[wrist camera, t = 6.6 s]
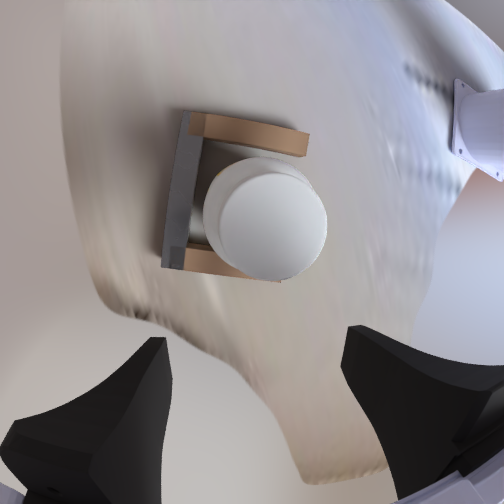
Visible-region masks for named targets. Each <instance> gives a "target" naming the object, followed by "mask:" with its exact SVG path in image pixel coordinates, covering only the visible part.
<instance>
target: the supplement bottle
mask: <svg viewBox="0 0 504 504" xmlns="http://www.w3.org/2000/svg"><path fill="white" fill-rule="evenodd" d="M203 225H204V230H205V234H206V237H207V239H208V241H209V243H210V245H211V247H212V248H213V250H214V251H215V252H216V253H217V255H218V256H219V257H220V258H221V259H222V260H224V261H225V262H226V263H228V264H229V265H231V266H232V267H234V268H236V269H239V270H240V271H241V272H243V273H244V274H246V275H248V276H250V277H253V278H255V279H259V280H264V281H280V280H285V279H288V278H291V277H293V276H296V275H298V274H300V273H301V272H303V271H304V270H305V269H307V268H308V267H309V266H310V265H311V264H312V263H313V262H314V261H315V259H316V258H317V257H318V255H319V253H320V252H321V250H322V247H323V245H324V242H325V239H326V234H327V216H326V212H325V209H324V206H323V203H322V201H321V200H320V198H319V196H318V195H317V193H316V192H315V191H314V189H313V187H312V186H311V184H310V182H309V181H308V180H307V178H306V177H305V176H304V175H303V174H302V173H301V172H300V171H299V170H298V169H296V168H295V167H293V166H292V165H290V164H288V163H286V162H284V161H282V160H278V159H275V158H269V157H253V158H248V159H244V160H241V161H238V162H236V163H234V164H231V165H229V166H227V167H226V168H224V169H223V170H222V171H220V172H219V173H218V174H217V175H216V177H215V178H214V179H213V181H212V183H211V185H210V187H209V189H208V192H207V195H206V198H205V202H204V207H203Z"/></svg>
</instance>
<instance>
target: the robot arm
mask: <svg viewBox="0 0 504 504" xmlns="http://www.w3.org/2000/svg"><path fill="white" fill-rule="evenodd" d="M459 151H460V153H459ZM452 152H453V154H454V155H456V156H458V157H460V158H462V159H464V160H465V161H467V162H469V163H471V164H472V165H474V166H476V167H477V168H479V169H481V170H482V171H484V172H486V173H487V174H489V175H490V176H492V177H494V178H495V179H497V180H498V181H503V179H504V89H499V90H492V91H486V92H480V93H478V92H476V91H475V90H474V89H473V88H471V87H470V86H469V85H467V84H466V83H464V82H463V81H462V80H460V79H455V81H454V124H453V138H452ZM341 369H342V371H343V374H344V377H345V379H346V381H347V384H348V386H349V387H350V389H351V391H352V393H353V394H354V396H355V398H356V399H357V401H358V402H359V404H360V406H361V407H362V409H363V411H364V412H365V414H366V415H367V417H368V419H369V420H370V422H371V424H372V426H373V428H374V430H375V432H376V434H377V436H378V439H379V441H380V443H381V446H382V448H383V451H384V454H385V456H386V459H387V462H388V465H389V468H390V471H391V474H392V477H393V481H394V484H395V489H396V493H397V497H398V501H396V502H394V503H391V504H502V502H504V365H501V366H499V365H496V366H487V365H476V364H468V363H462V362H457V361H452V360H447V359H443V358H440V357H436V356H433V355H430V354H427V353H424V352H422V351H419V350H416V349H414V348H412V347H409V346H407V345H405V344H403V343H400V342H398V341H396V340H394V339H392V338H390V337H388V336H385V335H383V334H381V333H379V332H377V331H375V330H373V329H370V328H368V327H366V326H363V325H357V326H349V327H348V330H347V336H346V341H345V346H344V352H343V357H342V361H341ZM172 379H173V378H172V373H171V367H170V361H169V354H168V348H167V341H166V338H165V337H150V338H149V339H148V340H147V341H146V342H145V343H144V344H143V345H142V346H141V347H140V348H139V349H138V350H137V351H136V352H135V353H134V354H133V355H132V356H131V357H130V358H129V359H128V360H127V361H126V362H125V363H124V364H123V365H122V366H121V367H120V368H118V369H117V370H116V371H115V372H114V373H113V374H111V375H110V376H109V377H108V378H107V379H105V380H104V381H103V382H101V383H100V384H99V385H97V386H96V387H94V388H93V389H91V390H90V391H88V392H86V393H85V394H83V395H81V396H79V397H77V398H75V399H74V400H72V401H70V402H69V403H66V404H64V405H62V406H59V407H57V408H55V409H52V410H49V411H47V412H44V413H41V414H38V415H34V416H31V417H27V418H23V419H19V420H15V421H14V423H13V424H12V426H11V428H10V429H9V431H8V433H7V435H6V437H5V438H4V440H3V442H2V444H1V446H0V456H1V458H2V461H3V462H4V463H5V465H6V466H7V467H8V469H9V470H10V471H11V472H12V473H13V474H14V475H15V476H16V478H18V480H19V481H20V482H21V483H22V484H23V485H24V486H25V487H26V488H27V489H28V490H27V493H26V496H24V495H23V494H21V493H20V492H18V491H16V490H14V489H12V488H10V487H8V486H6V485H4V484H2V483H0V504H161V463H162V449H163V442H164V436H165V431H166V425H167V419H168V415H169V409H170V404H171V396H172Z"/></svg>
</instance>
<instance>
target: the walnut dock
mask: <svg viewBox="0 0 504 504" xmlns="http://www.w3.org/2000/svg"><path fill="white" fill-rule="evenodd" d="M309 135H310V134H308V133H304V132H300V131H296V130H292V129H287V128H283V127H279V126H274V125H269V124H265V123H260V122H254V121H249V120H244V119H238V118H232V117H226V116H220V115H213V114H206V113H199V112H191V111H184V112H183V117H182V122H181V127H180V132H179V137H178V143H177V148H176V154H175V160H174V166H173V172H172V178H171V185H170V191H169V199H168V206H167V214H166V222H165V230H164V239H163V249H162V260H161V267H163V268H170V269H177V270H185V271H192V272H199V273H207V274H214V275H222V276H230V277H238V278H246V279H254V280H259V279H255V278H253V277H250V276H248V275H246V274H244V273H243V272H241V271H240V270H239V269H236V268H234V267H232V266H231V265H229V264H228V263H226V262H225V261H224V260H222V259H221V258H220V257H219V256H218V255H217V253H216V252H215V251H214V250H213V248H212V247H211V246H209V245H202V244H195V243H188V238H189V230H190V223H191V216H192V209H193V202H194V195H195V189H196V183H197V177H198V171H199V165H200V159H201V153H202V148H203V142H204V140H210V141H216V142H223V143H229V144H235V145H241V146H247V147H252V148H257V149H263V150H268V151H273V152H278V153H282V154H287V155H292V156H296V157H303V156H306V152H307V146H308V140H309ZM263 281H264V280H263ZM271 282H280V283H281V280H280V281H271Z"/></svg>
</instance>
